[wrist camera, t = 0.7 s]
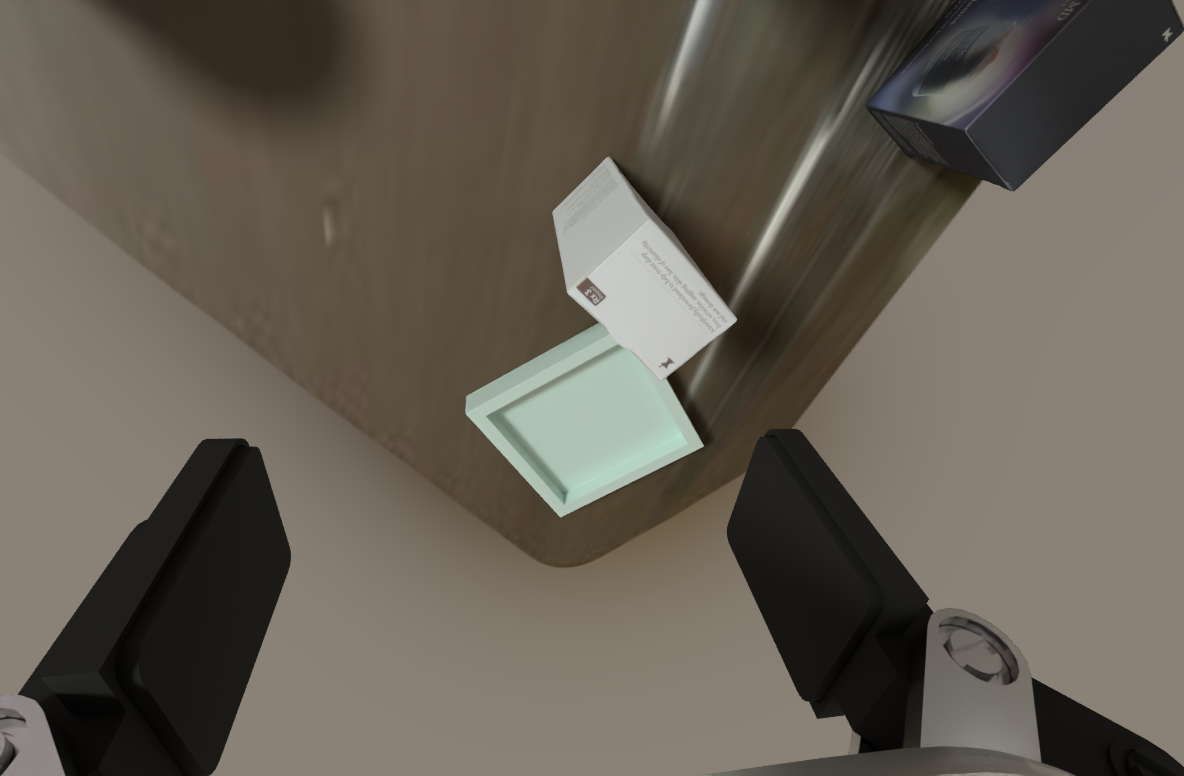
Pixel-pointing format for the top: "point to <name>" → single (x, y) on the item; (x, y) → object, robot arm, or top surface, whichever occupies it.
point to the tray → (583, 420)
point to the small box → (1017, 79)
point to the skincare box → (635, 273)
